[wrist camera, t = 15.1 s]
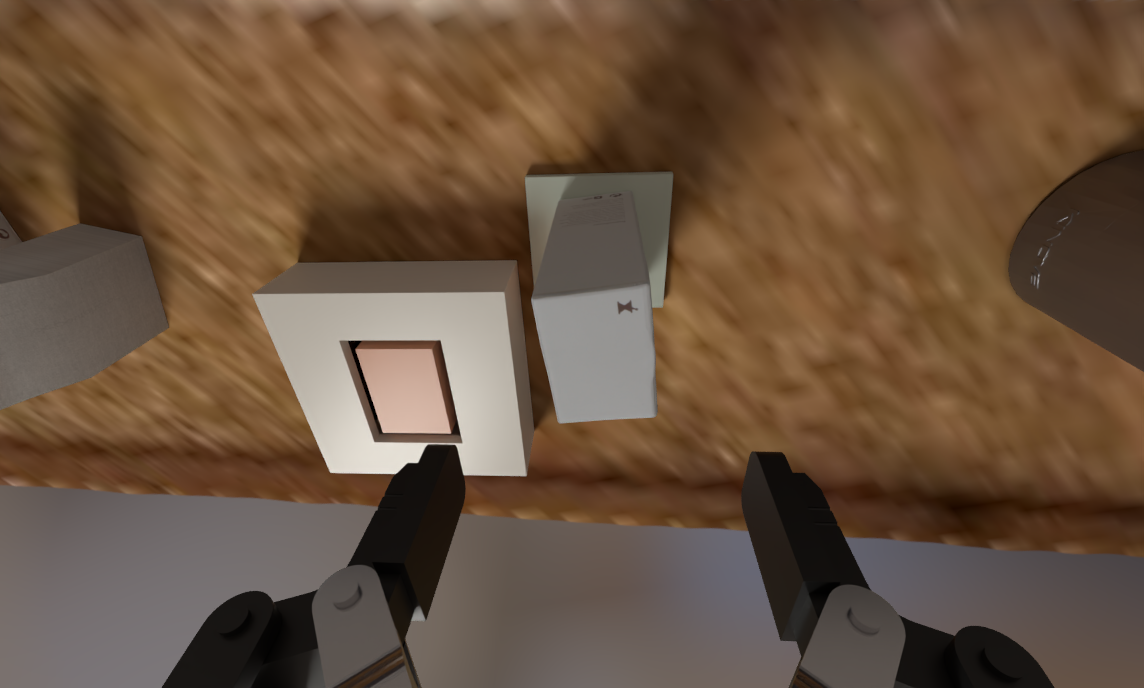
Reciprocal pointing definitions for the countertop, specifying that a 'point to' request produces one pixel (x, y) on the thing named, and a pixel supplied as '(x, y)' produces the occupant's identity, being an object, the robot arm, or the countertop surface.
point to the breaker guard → (406, 312)
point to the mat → (646, 186)
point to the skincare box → (597, 311)
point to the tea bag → (72, 308)
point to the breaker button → (408, 385)
